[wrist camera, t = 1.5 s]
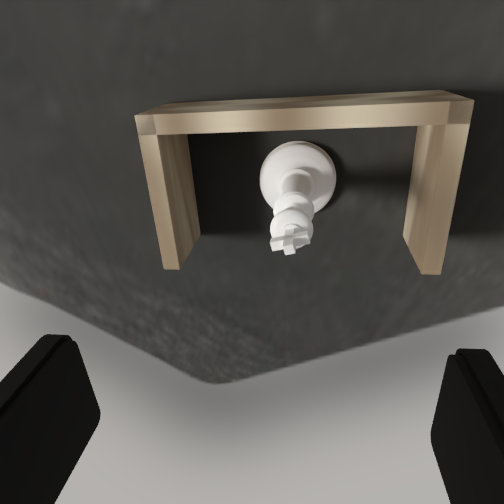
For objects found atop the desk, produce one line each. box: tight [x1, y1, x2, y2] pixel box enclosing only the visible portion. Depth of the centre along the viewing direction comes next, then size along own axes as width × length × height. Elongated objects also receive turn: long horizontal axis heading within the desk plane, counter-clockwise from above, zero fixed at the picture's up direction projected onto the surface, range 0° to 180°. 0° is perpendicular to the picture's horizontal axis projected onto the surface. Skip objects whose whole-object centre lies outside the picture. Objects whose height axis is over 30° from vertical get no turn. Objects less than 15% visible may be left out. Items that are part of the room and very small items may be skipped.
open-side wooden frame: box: [135, 90, 475, 275], centre depth 22 cm, size 16×9×5 cm, turn 93°
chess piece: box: [260, 141, 336, 255], centre depth 20 cm, size 5×5×10 cm
